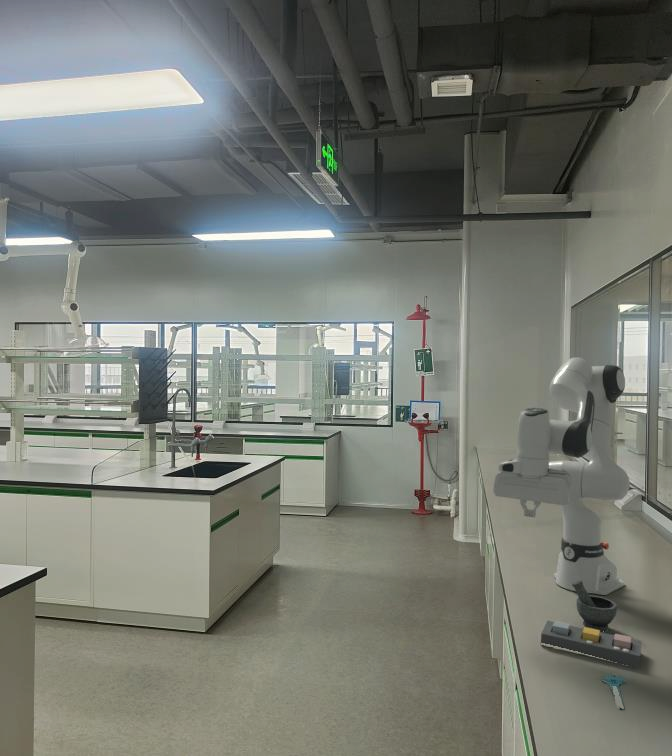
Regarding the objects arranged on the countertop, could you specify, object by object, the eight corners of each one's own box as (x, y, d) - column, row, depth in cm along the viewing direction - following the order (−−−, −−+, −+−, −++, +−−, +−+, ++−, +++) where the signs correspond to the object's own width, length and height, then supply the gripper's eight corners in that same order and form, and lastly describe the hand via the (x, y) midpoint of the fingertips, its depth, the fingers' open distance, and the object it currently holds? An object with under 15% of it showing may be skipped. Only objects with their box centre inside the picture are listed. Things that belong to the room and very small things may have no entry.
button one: (582, 641, 154) (582, 632, 153) (583, 635, 157) (584, 626, 157) (598, 644, 152) (598, 635, 152) (599, 639, 155) (599, 630, 155)
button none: (552, 634, 157) (552, 625, 157) (554, 629, 160) (554, 620, 160) (567, 637, 155) (567, 628, 155) (569, 632, 158) (569, 623, 158)
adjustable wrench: (600, 672, 142) (625, 676, 140) (600, 676, 142) (624, 680, 140) (608, 704, 128) (634, 709, 127) (607, 708, 128) (634, 713, 127)
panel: (540, 645, 156) (541, 632, 155) (546, 631, 164) (547, 619, 163) (639, 668, 145) (640, 655, 145) (640, 653, 153) (641, 640, 153)
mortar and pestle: (614, 624, 170) (616, 580, 170) (616, 638, 161) (618, 592, 161) (570, 616, 174) (572, 573, 174) (569, 630, 165) (571, 584, 165)
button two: (613, 648, 150) (613, 639, 150) (614, 642, 153) (614, 633, 153) (629, 651, 149) (630, 642, 149) (630, 646, 152) (631, 637, 152)
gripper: (573, 469, 172) (570, 519, 173) (498, 461, 182) (496, 508, 183) (570, 473, 167) (567, 524, 167) (492, 464, 176) (490, 513, 177)
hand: (529, 516), depth 175 cm, fingers closed
